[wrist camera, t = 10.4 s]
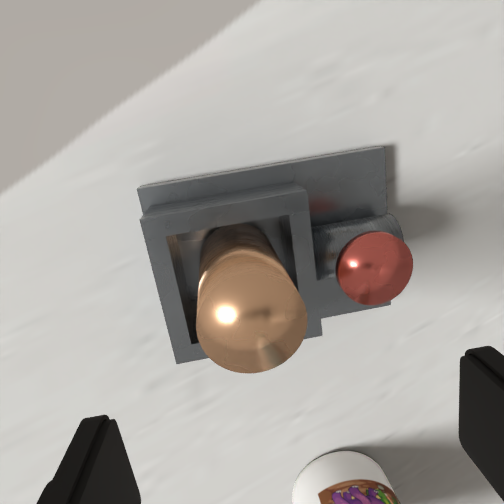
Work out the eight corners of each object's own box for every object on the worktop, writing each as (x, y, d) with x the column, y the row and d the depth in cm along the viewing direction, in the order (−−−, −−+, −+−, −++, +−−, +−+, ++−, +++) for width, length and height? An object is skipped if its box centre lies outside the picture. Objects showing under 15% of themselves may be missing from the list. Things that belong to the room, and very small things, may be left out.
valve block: (375, 146, 23) (437, 152, 16) (382, 297, 26) (436, 348, 20) (140, 185, 22) (114, 207, 16) (177, 336, 25) (168, 403, 19)
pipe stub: (268, 217, 22) (300, 263, 14) (278, 286, 23) (312, 361, 16) (192, 230, 22) (185, 285, 14) (207, 299, 23) (207, 382, 15)
